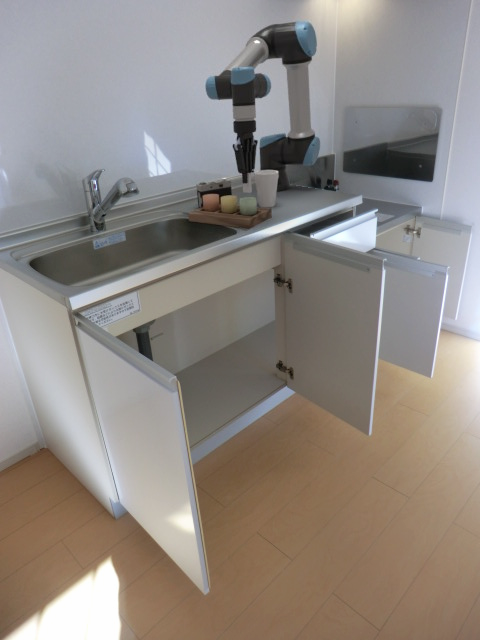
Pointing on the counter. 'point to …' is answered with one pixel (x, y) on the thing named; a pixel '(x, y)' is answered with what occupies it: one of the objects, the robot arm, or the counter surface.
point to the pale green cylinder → (248, 206)
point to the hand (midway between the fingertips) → (247, 192)
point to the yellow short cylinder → (229, 204)
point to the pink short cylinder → (211, 202)
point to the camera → (213, 190)
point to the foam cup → (266, 187)
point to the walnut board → (230, 217)
